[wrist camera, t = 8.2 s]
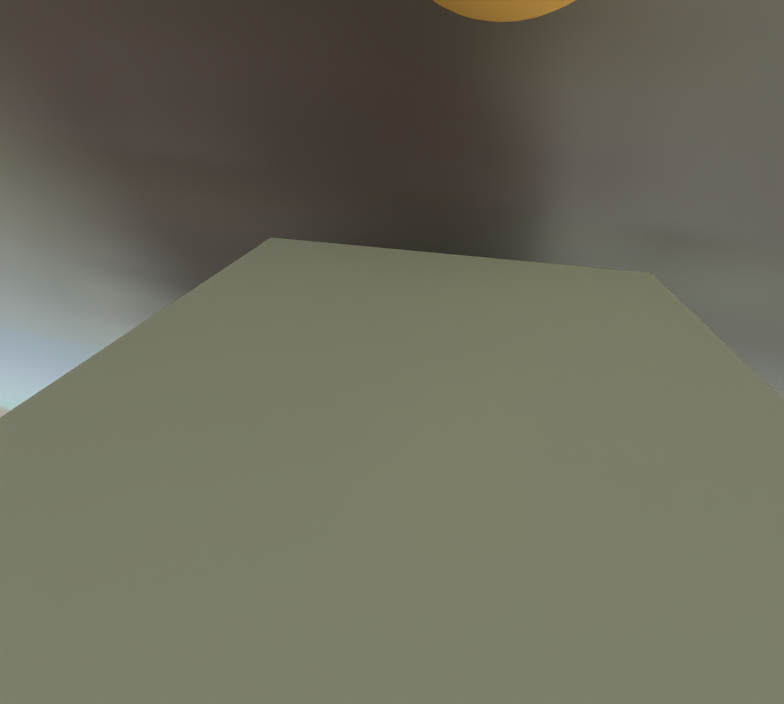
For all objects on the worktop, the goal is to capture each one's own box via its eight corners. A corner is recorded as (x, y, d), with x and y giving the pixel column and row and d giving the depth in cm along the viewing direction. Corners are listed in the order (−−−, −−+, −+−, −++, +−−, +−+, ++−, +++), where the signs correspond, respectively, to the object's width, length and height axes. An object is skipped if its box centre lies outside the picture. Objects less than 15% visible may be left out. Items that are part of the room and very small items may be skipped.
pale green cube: (650, 272, 9) (1904, 1473, 1) (559, 537, 12) (693, 1217, 5) (270, 237, 10) (-517, 763, 2) (292, 494, 13) (54, 1013, 6)
